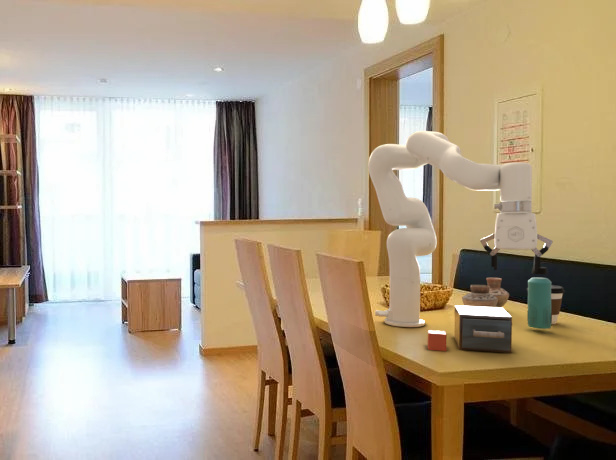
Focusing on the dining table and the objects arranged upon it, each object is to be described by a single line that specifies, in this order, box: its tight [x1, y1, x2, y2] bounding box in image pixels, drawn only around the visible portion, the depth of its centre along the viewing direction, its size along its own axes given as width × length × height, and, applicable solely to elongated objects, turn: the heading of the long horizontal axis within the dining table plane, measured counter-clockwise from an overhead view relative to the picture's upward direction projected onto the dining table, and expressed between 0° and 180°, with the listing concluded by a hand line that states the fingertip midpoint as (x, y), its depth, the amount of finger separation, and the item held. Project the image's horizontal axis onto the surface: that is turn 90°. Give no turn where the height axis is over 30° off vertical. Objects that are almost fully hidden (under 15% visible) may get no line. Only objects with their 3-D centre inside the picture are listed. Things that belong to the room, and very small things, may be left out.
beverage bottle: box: [526, 266, 553, 330], centre depth 177 cm, size 6×7×20 cm
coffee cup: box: [526, 284, 566, 325], centre depth 191 cm, size 11×11×12 cm
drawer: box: [462, 317, 511, 351], centre depth 157 cm, size 18×11×8 cm, turn 161°
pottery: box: [461, 277, 510, 308], centre depth 207 cm, size 11×25×12 cm, turn 136°
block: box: [427, 329, 448, 352], centre depth 158 cm, size 4×4×4 cm
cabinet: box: [453, 305, 513, 354], centre depth 161 cm, size 15×13×10 cm
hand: (515, 270), depth 158 cm, fingers open, 9 cm apart
